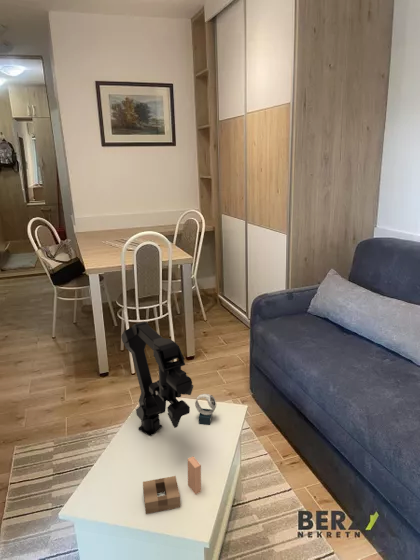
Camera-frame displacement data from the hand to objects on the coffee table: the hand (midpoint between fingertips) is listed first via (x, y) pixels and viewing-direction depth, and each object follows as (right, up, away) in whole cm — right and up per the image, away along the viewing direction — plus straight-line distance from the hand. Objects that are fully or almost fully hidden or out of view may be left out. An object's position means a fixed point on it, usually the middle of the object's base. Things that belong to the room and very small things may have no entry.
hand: (169, 419), depth 137 cm
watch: (+12, -7, +20) cm, 25 cm away
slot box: (-1, -19, -15) cm, 24 cm away
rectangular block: (+9, -17, -11) cm, 22 cm away
